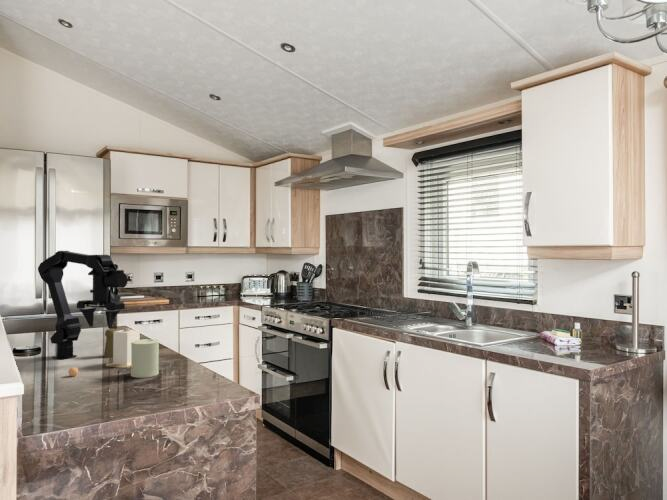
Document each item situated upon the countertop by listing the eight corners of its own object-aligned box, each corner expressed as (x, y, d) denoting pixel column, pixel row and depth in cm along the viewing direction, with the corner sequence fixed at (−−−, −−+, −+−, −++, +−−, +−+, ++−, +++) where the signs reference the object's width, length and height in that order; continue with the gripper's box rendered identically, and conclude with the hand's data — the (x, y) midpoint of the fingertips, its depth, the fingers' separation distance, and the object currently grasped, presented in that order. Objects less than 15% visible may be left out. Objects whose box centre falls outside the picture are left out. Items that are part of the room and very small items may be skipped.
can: (164, 372, 180) (164, 338, 180) (146, 378, 172) (147, 343, 172) (143, 370, 183) (143, 336, 183) (124, 376, 175) (125, 341, 175)
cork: (114, 358, 202) (114, 330, 202) (100, 357, 204) (100, 329, 204) (123, 354, 208) (123, 328, 208) (110, 354, 209) (110, 327, 209)
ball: (66, 376, 174) (66, 367, 173) (74, 374, 176) (74, 365, 176) (71, 377, 172) (71, 368, 172) (80, 375, 175) (80, 367, 175)
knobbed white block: (113, 363, 190) (113, 329, 190) (125, 360, 196) (126, 326, 196) (127, 365, 188) (127, 330, 188) (139, 361, 194) (139, 327, 194)
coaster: (105, 365, 189) (105, 364, 189) (125, 360, 198) (125, 358, 198) (127, 368, 186) (127, 366, 186) (146, 362, 195) (146, 361, 195)
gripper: (135, 286, 201) (134, 326, 201) (98, 284, 208) (97, 323, 208) (114, 288, 191) (113, 330, 191) (75, 286, 197) (75, 327, 197)
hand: (100, 327), depth 197 cm, fingers open, 9 cm apart
